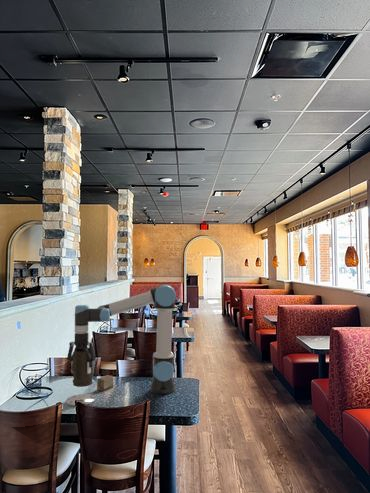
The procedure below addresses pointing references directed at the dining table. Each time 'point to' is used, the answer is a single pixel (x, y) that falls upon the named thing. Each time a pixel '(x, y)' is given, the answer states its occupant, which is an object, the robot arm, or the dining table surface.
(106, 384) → the menu block
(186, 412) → the dining table surface
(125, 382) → the dining table surface
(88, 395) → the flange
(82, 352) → the beer stein
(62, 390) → the dining table surface
